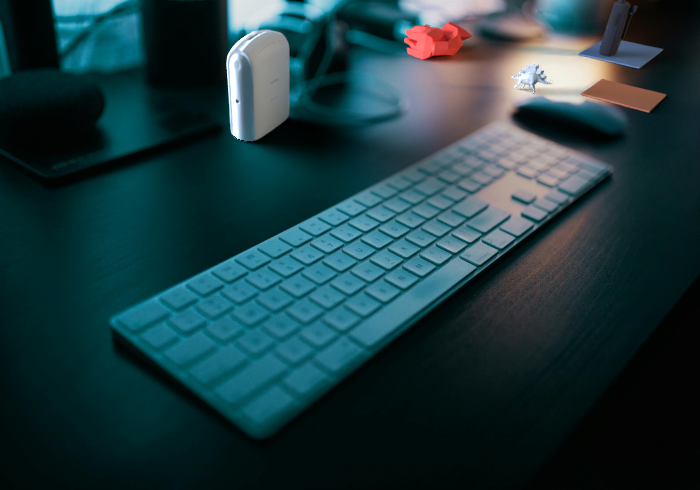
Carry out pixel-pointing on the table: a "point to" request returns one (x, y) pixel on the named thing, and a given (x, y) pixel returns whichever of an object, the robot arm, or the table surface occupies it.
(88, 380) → the table surface
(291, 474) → the table surface
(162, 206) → the table surface
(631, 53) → the slate mat
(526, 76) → the stegosaurus
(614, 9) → the two-way radio
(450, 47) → the animal figurine
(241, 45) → the photo printer
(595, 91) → the terracotta mat
